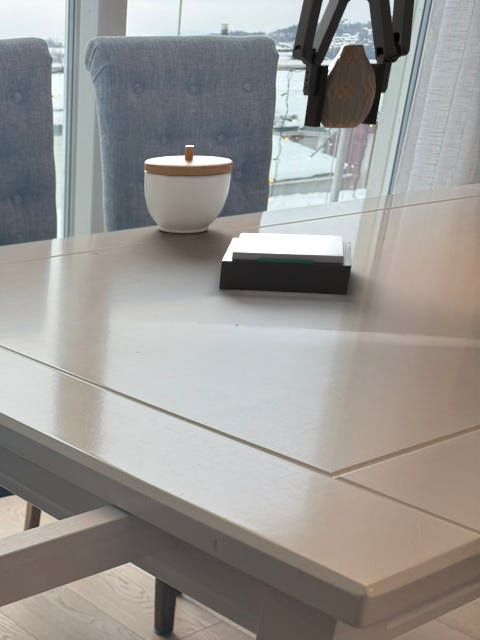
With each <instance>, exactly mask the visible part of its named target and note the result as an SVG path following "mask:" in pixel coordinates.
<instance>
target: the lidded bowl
mask: <svg viewBox="0 0 480 640" xmlns="http://www.w3.org/2000/svg"><path fill="white" fill-rule="evenodd" d="M184 148H185V149H184V155H170V156H169V155H168V156H159V157H152V158H148V159H146V160H145V161H144V164H143V171H144V177H143V179H144V180H143V183H144V184H143V190H144V199H145V206H146V208H147V209H146V210H147V211H148V214H149V215H150V217H151V219H152V220H153V222H154V223H155V224H156V225H157V226H158V230H159V231H161V232H166V233H173V234H195V233H196V234H197V233H202V232H206V231H208V229H209V226H210V225H211V224H213V223H214V222H215V221H216V219H217V218H218V217H219V216H220V214H221V213H222V211H223V209H224V207H225V205H226V202H227V198H228V195H229V190H230V185H231V179H232V171H233V169H234V162H233V160H232V159H230V158H226V157H221V156H209V155H194V153H195V145H192V144H191V145H189V144H188V145H185V147H184Z"/></svg>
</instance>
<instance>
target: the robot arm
mask: <svg viewBox="0 0 480 640" xmlns="http://www.w3.org/2000/svg"><path fill="white" fill-rule="evenodd" d="M323 1H324V0H303V1H302V5H301V10H300V15H299V20H298V23H297V24H298V25H297V29H296V34H295V38H294V43H293V48H292V52H291V53H292V54H291V55H292V56H291V57H292V58H293V59H295V60H299V61H301V63H302V64H303V65H305V71H304V79H303V87H302V93H303V96H305V97H306V96H307V102H306V106H305V107H306V108H305V116H304V122H303V126H304V127H309V128H310V127H311V128H320V127H321V125H322V124H321V117H322V110H323V103H324V96H325V89H326V83H327V76H328V69H329V65H330V64H323V63H324V60H325V58H326V56H327V53H328V51H329V49H330V46H331V44H332V42H333V39H334V37H335V34H336V32H337V30H338V28H339V26H340V23H341V21H342V19H343V16H344V13H345V11H346V9H347V6H348V4H349V2H350V1H351V0H328V1H327V5H326V6H325V10H324V12H323V14H322V17H321V19H320V14H321V10H322V6H323ZM366 2H368V8H369V15H370V17H369V18H370V24H371V32H372V40H373V49H374V50H373V51H374V58H375V61H376V62H372V63H371V62H370V63H371V65H372V67H373V70H374V73H375V78H376V92H375V98H374V102H373V105H372V108H371V110H370V112H369V114H368V116H367V117H366V119H365V120H364V121H363V122H362V123H361V124H360V125H368V126H369V125H370V126H373V125H377V121H378V120H377V119H378V114H379V109H380V102H381V96H382V94H385V93H386V92H387V90H388V87H389V81H390V76H391V71H392V65H393V63H396V62H397V61H398V60H399V58H401V57H405V56H407V55H408V54H409V53H410V50H411V42H412V41H411V40H412V32H413V31H412V30H413V21H414V10H415V0H393V6H392V7H393V8H392V9H391V0H366ZM319 20H320V21H319ZM318 23H319V24H318Z"/></svg>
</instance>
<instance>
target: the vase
mask: <svg viewBox="0 0 480 640" xmlns="http://www.w3.org/2000/svg"><path fill="white" fill-rule="evenodd" d="M328 65H329V69H328V76H327V83H326V89H325V96H324V103H323V110H322V117H321V124H320V125H322V126H323V128H325V129H355V128H358V127H359V126H361V125H362V124H361V123H362V122H363V121H364V120H365V119H366V117H367V116H368V114H369V112H370V110H371V108H372V105H373V102H374V98H375V92H376V78H375V73H374V70H373V67H372V65H371V62H370V60H369V58H368V55H367V53H366V50H365V45H364V44H363V43H359V44H343V45H342V46H341V48H340V50H339V52H338V53H337V55H336V57H335V58H334V59H333V60H332V61H331V63H330V64H328Z"/></svg>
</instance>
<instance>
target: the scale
mask: <svg viewBox="0 0 480 640" xmlns="http://www.w3.org/2000/svg"><path fill="white" fill-rule="evenodd" d="M220 265H221V266H220V274H219V285H218V288H219V289H228V290H246V291H247V290H249V291H270V292H291V293H309V294H310V293H311V294H313V293H314V294H332V295H333V294H335V295H347V294H348V289H349V283H350V277H351V271H352V251H351V241H344V236H343V235H323V234H322V235H321V234H319V235H318V234H287V233H259V232H258V233H256V232H255V233H253V232H241V233H240V235H239V237H232V239H231V241H230V243H229V245H228V248H227V249H226V252H225V254H224V256H223V258H222V260H221V264H220Z"/></svg>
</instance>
